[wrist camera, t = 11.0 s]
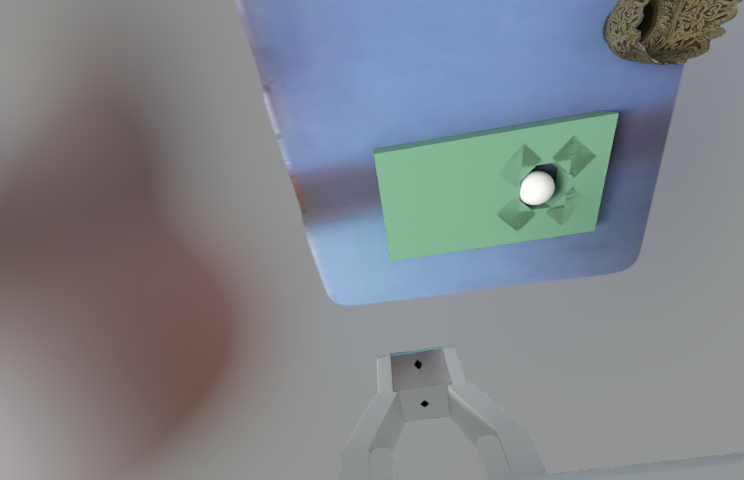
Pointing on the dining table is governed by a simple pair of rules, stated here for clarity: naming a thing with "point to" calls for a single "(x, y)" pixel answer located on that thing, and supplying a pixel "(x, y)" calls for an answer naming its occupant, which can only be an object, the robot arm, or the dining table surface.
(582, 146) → the putting mat
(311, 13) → the dining table surface
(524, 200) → the ball
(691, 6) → the cup
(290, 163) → the dining table surface
